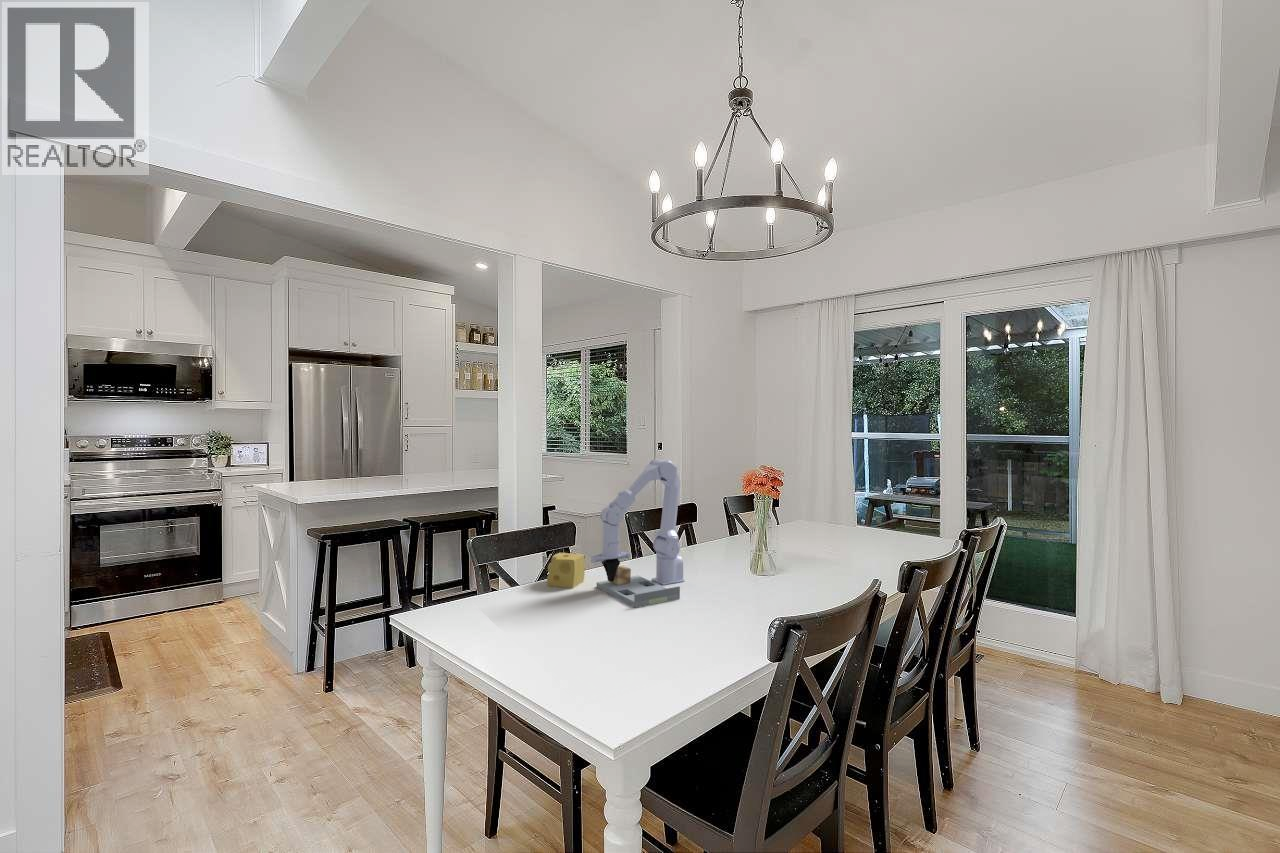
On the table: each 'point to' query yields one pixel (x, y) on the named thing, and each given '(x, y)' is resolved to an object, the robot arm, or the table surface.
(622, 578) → the oak block
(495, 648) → the table surface
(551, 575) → the cheese
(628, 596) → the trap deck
